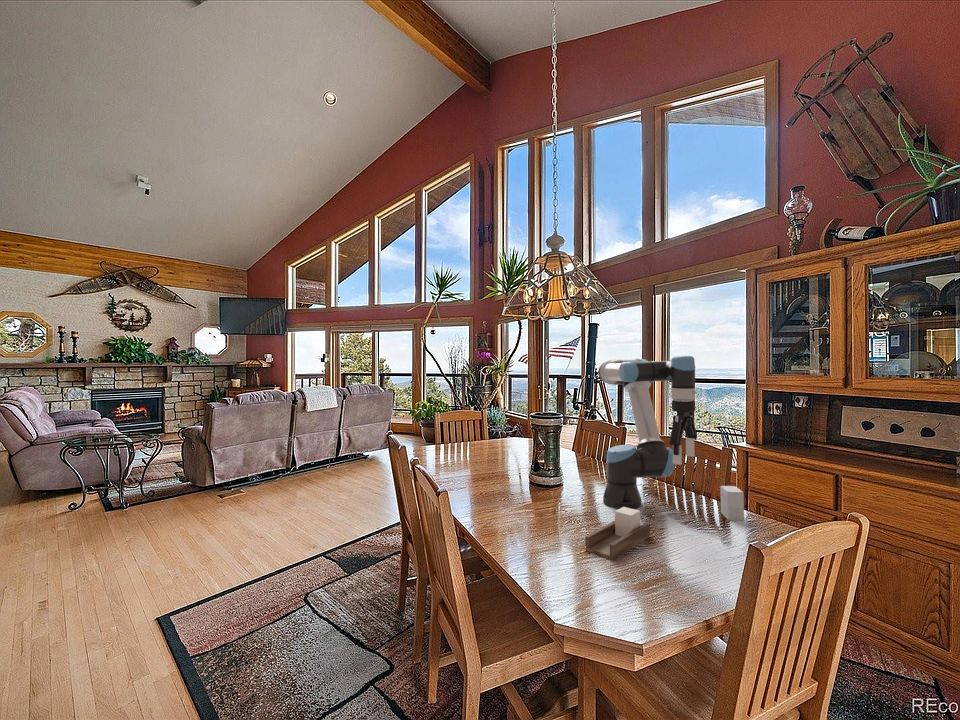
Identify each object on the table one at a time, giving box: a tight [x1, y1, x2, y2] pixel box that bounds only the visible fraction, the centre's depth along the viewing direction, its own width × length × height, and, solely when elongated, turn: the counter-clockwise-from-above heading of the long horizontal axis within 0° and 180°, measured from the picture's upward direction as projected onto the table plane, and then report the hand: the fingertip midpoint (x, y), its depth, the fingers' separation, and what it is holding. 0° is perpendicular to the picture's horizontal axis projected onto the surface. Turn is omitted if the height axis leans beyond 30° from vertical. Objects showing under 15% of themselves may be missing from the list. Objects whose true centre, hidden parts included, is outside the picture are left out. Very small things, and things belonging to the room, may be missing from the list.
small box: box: [719, 485, 745, 521], centre depth 168 cm, size 8×6×10 cm
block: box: [614, 507, 641, 537], centre depth 151 cm, size 6×6×8 cm
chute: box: [584, 520, 651, 561], centre depth 147 cm, size 10×24×4 cm, turn 134°
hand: (683, 460), depth 158 cm, fingers open, 13 cm apart
